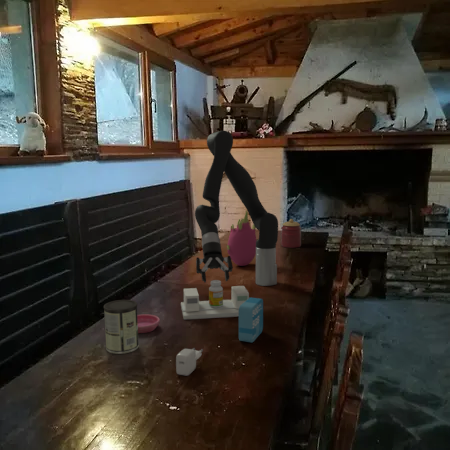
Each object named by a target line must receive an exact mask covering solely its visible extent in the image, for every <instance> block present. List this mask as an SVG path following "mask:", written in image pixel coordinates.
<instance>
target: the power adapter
mask: <svg viewBox="0 0 450 450" xmlns="http://www.w3.org/2000/svg"><path fill="white" fill-rule="evenodd" d="M203 351H204V349H203V348H201V349H199V350H196V347H193V348H183V349H182V350H181V351H179V352H178V353H177V354H176V357H175V367H176V369H175V370H176V371H175V372H176V374H177V375H180V376H187V377H188V376H190V375H191V374H192V373H193V371H195V370H196V368H197V360H198V359H200V358H201V357H202V352H203Z"/></svg>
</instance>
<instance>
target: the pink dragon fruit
mask: <svg viewBox="0 0 450 450" xmlns="http://www.w3.org/2000/svg"><path fill="white" fill-rule="evenodd" d="M256 230H257V229H256V227H255V226H254V224H252V227H251V225H250V220H249V213H248V211H247V210H245V214H244V217H243V218H240V219H238V220H237V223H236V228H235V225H234V224H231V226H230V233H229V236H228V239H227V240H228V241H227V244H226V250H227V254H228V256H230V257H231V261H232V262H233V263H234V264H235V265H237V266H241V267H244V266H245V267H246V266H248V265H249V264H251V263H252V261H253V260H254V258H256V241H257V240H258V239H259V238H258V239H257V235H256Z"/></svg>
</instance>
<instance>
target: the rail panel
mask: <svg viewBox="0 0 450 450" xmlns="http://www.w3.org/2000/svg"><path fill="white" fill-rule="evenodd" d="M230 293H231V297H230V298H231V299H223V306H222V307H218V308H214V307H210V306H209V300H200V295H199V292H198V289H197V287H191V288H183V301H181V302H180V307H181V308H180V310H181V314H182V317H183V318H182V319H183V320H185V321H186V320H200V319H201V320H202V319H215V318H219V319H220V318H234V317H239V307H240V305H241V304H243V303H244V302H245V301H246V300H247V299H249V298H250V293H249V290H248V289H247V288H246V287H245V285H235V286H233V285H232V286H231V292H230Z"/></svg>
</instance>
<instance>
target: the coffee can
mask: <svg viewBox="0 0 450 450" xmlns="http://www.w3.org/2000/svg"><path fill="white" fill-rule="evenodd" d="M103 309H104V313H103V314H104V327H105V329H104V332H105V349H106V352H108V353H110V354H114V355H115V354H116V355H118V354H119V355H120V354H121V355H122V354H128V353H132V352H134V351H136V350H137V349H138V348H139V346H140V345H139V333H138V318H137V315H138V302H137V301H135V300H132V299H117V300H112V301H109V302H106V303H105V304H104V305H103Z"/></svg>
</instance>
